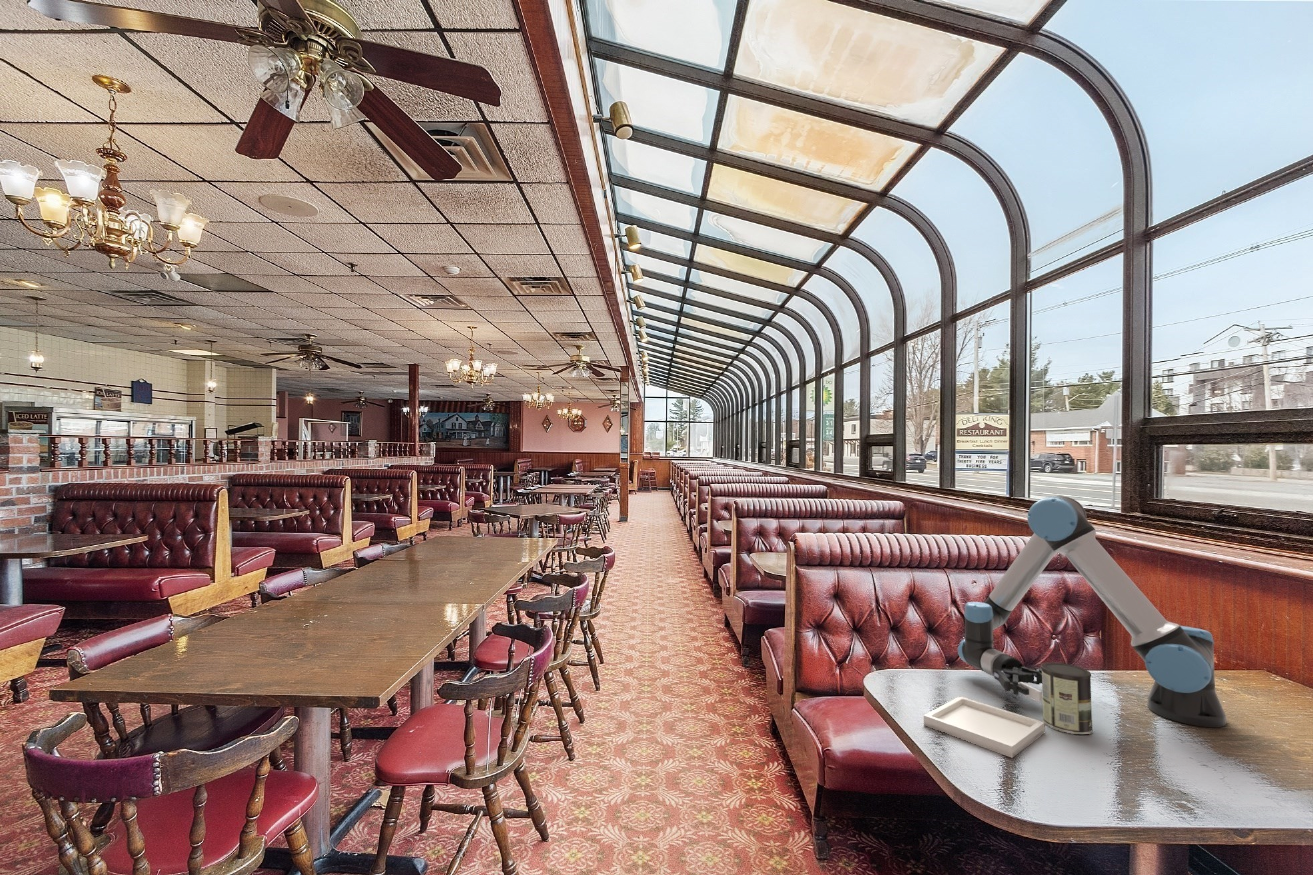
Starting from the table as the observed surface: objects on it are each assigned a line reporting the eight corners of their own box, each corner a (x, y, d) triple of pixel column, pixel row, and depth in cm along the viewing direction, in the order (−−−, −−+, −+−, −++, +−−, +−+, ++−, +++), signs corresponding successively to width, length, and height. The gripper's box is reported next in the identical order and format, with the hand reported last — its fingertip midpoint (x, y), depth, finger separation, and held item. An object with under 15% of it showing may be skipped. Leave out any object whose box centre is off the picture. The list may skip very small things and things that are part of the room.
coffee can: (1079, 719, 147) (1077, 663, 148) (1101, 737, 137) (1100, 677, 138) (1035, 715, 149) (1033, 660, 150) (1054, 733, 139) (1052, 674, 140)
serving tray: (1044, 732, 139) (1044, 722, 140) (1012, 757, 127) (1012, 746, 127) (960, 705, 155) (959, 696, 155) (923, 725, 143) (923, 715, 143)
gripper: (1041, 678, 166) (1109, 708, 145) (963, 681, 163) (1020, 713, 142) (1041, 651, 167) (1108, 678, 146) (963, 654, 163) (1020, 682, 142)
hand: (1065, 695), depth 144 cm, fingers open, 13 cm apart
